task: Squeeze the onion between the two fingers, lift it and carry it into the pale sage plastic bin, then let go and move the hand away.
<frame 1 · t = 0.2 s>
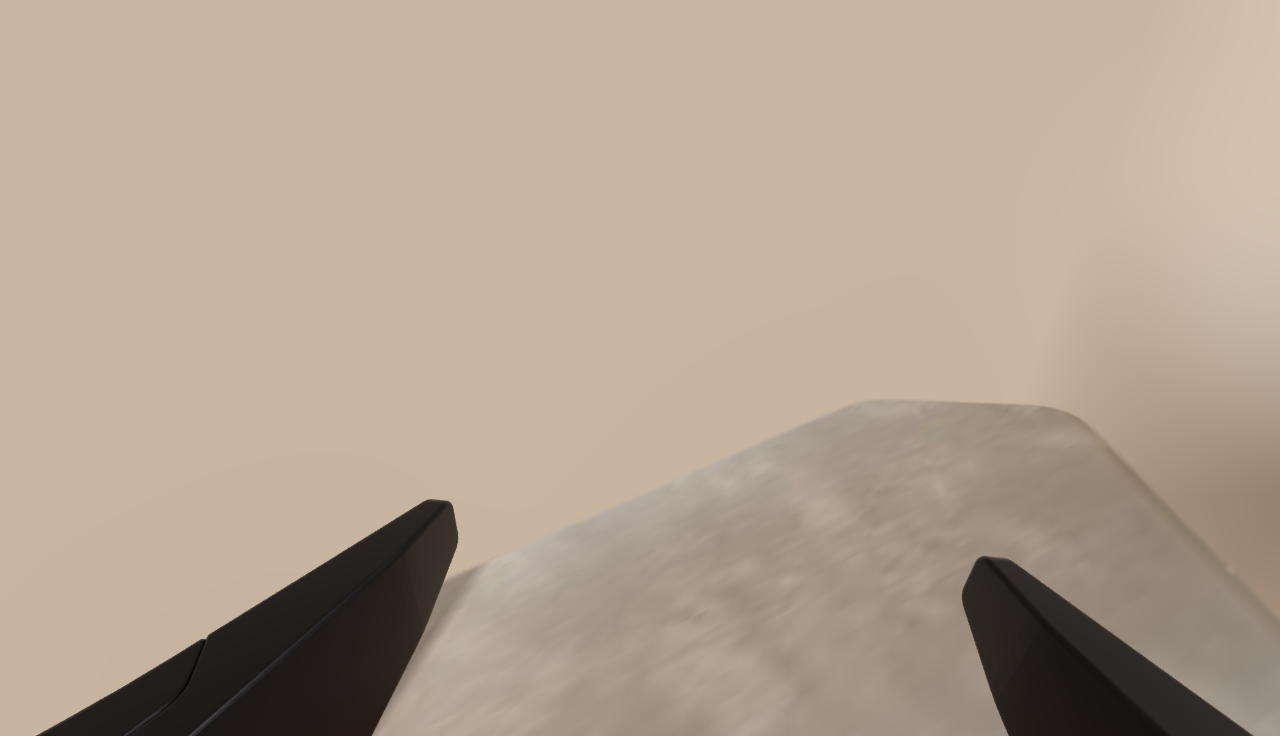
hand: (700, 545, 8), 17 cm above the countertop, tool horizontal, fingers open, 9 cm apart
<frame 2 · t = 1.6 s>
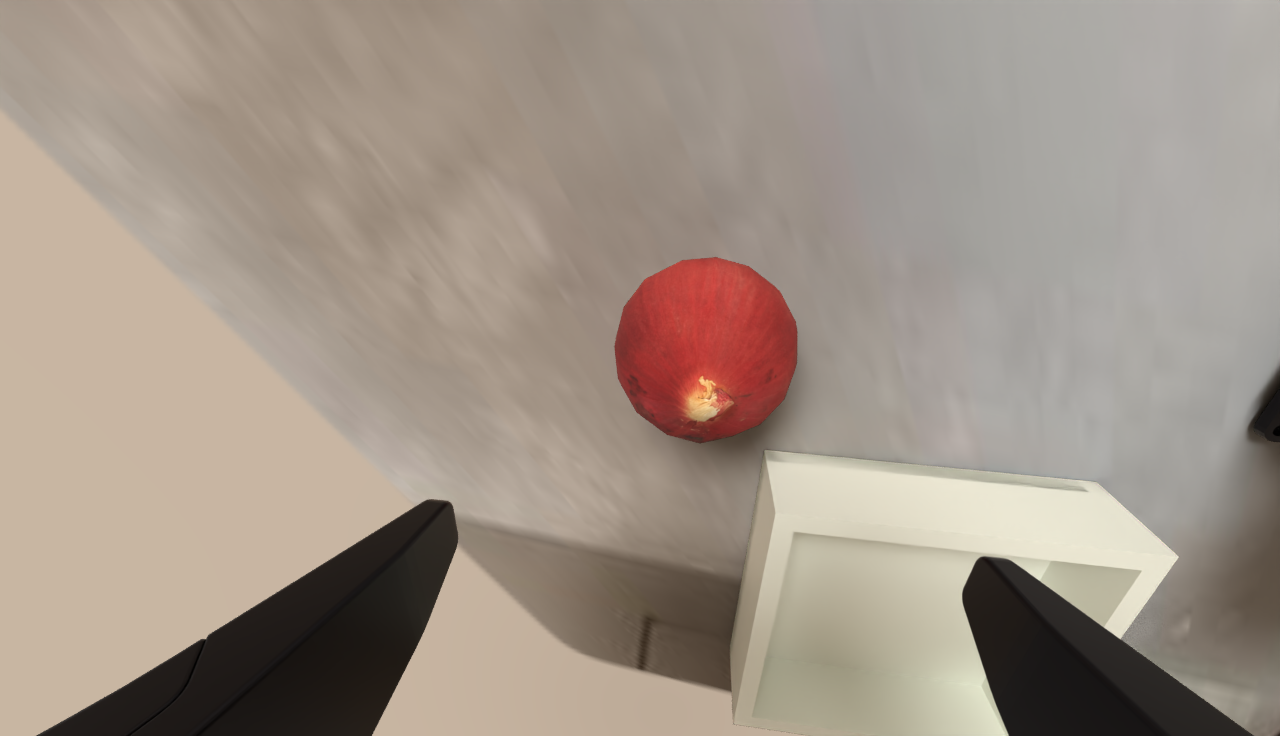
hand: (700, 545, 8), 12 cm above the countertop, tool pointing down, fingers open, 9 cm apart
onion: (704, 310, 19), on the countertop
bin: (885, 577, 24), on the countertop
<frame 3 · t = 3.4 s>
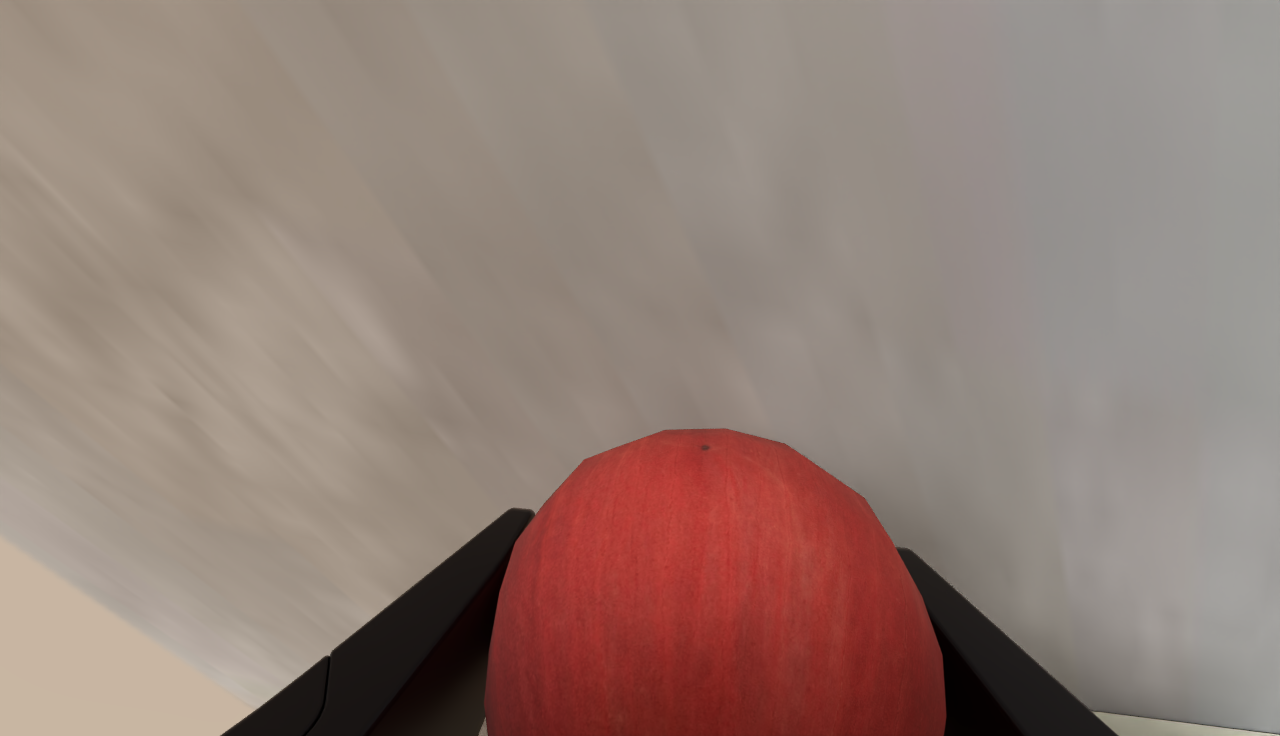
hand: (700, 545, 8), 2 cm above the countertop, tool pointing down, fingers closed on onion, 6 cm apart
onion: (700, 465, 10), on the countertop, touching gripper
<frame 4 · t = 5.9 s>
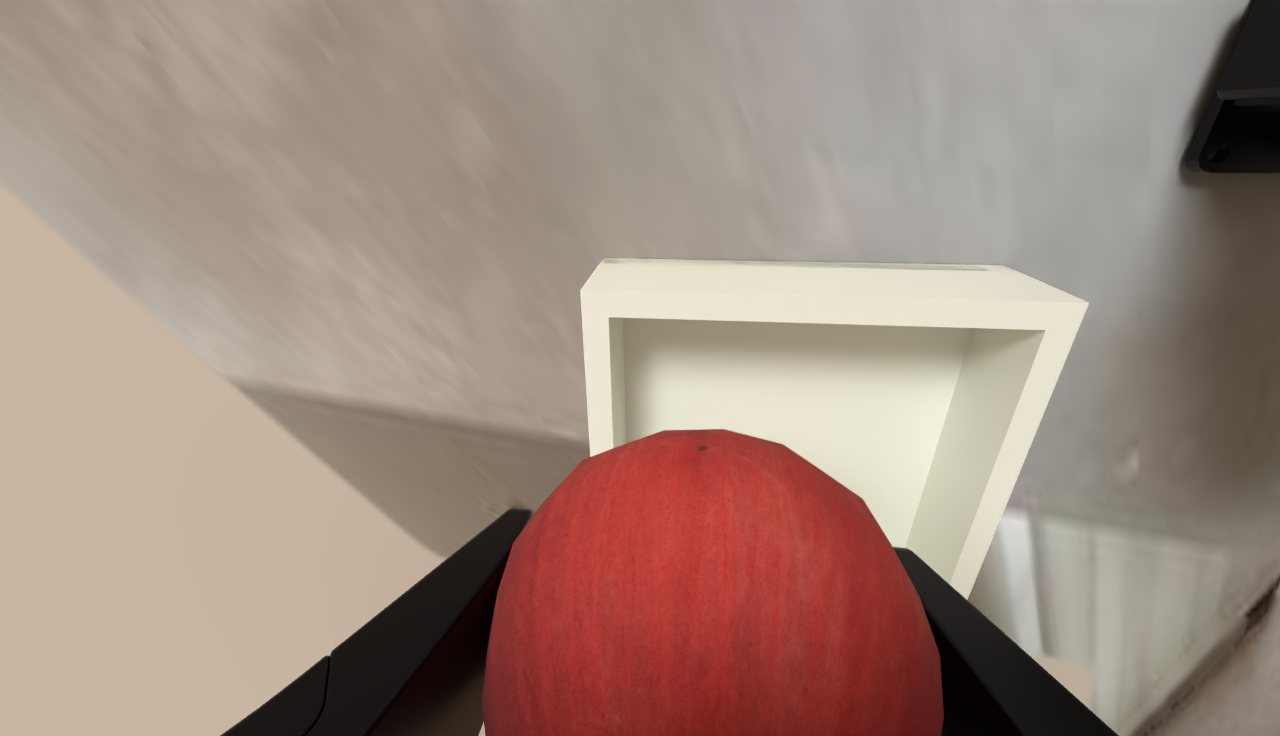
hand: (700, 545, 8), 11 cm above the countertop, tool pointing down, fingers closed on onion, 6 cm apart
onion: (698, 465, 10), point 9 cm above the countertop, touching gripper
bin: (774, 426, 20), on the countertop
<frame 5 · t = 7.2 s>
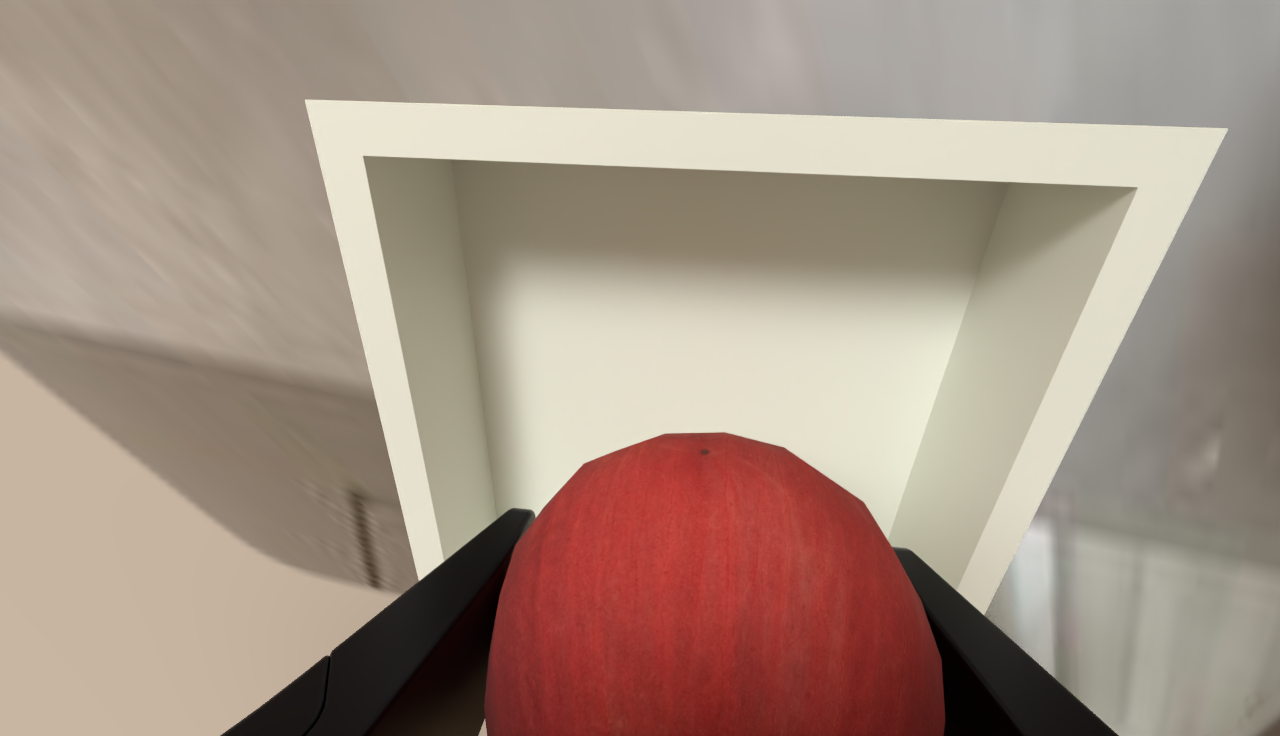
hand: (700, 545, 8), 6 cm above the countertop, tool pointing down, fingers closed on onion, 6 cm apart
onion: (699, 468, 11), point 4 cm above the countertop, touching gripper
bin: (695, 387, 14), on the countertop
when the fingers open (4 cm above the countertop, at t = 8.5 s): onion stays where it is, resting on bin.
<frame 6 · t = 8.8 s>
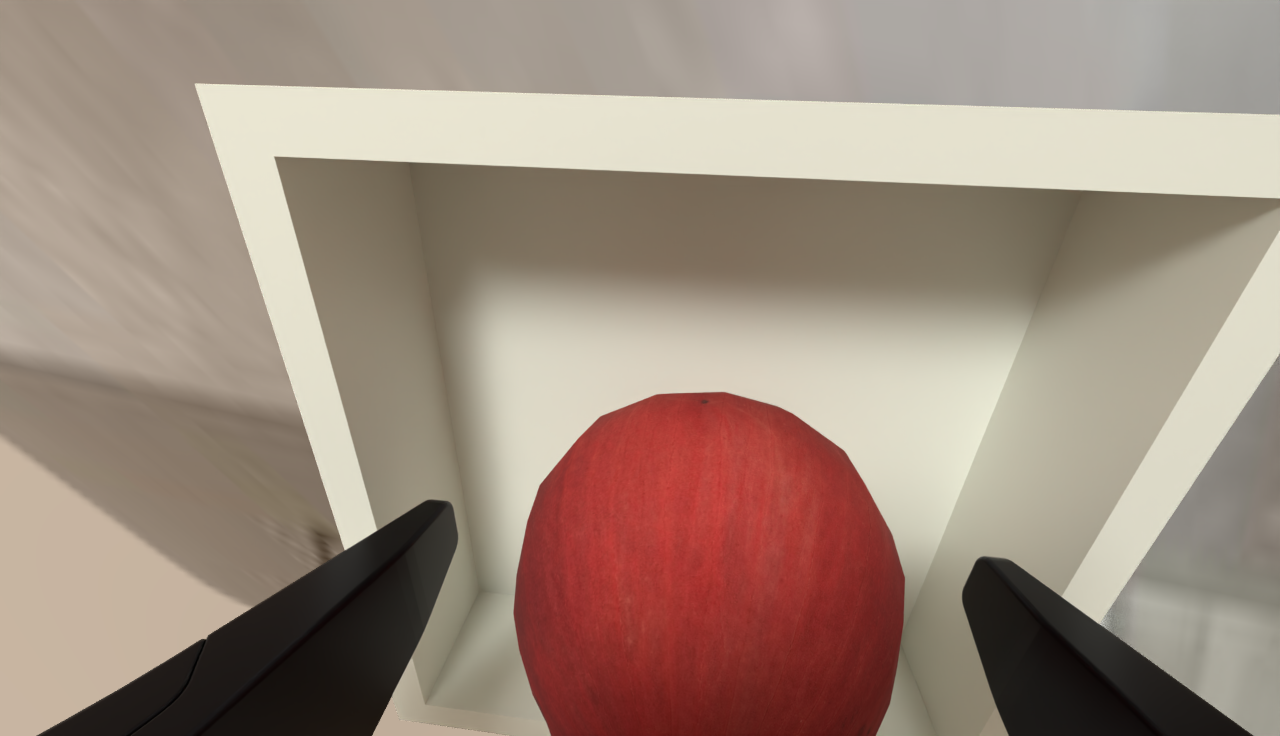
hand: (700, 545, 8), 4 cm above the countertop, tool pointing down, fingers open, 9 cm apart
onion: (704, 436, 11), point 1 cm above the countertop, touching bin
bin: (699, 422, 12), on the countertop
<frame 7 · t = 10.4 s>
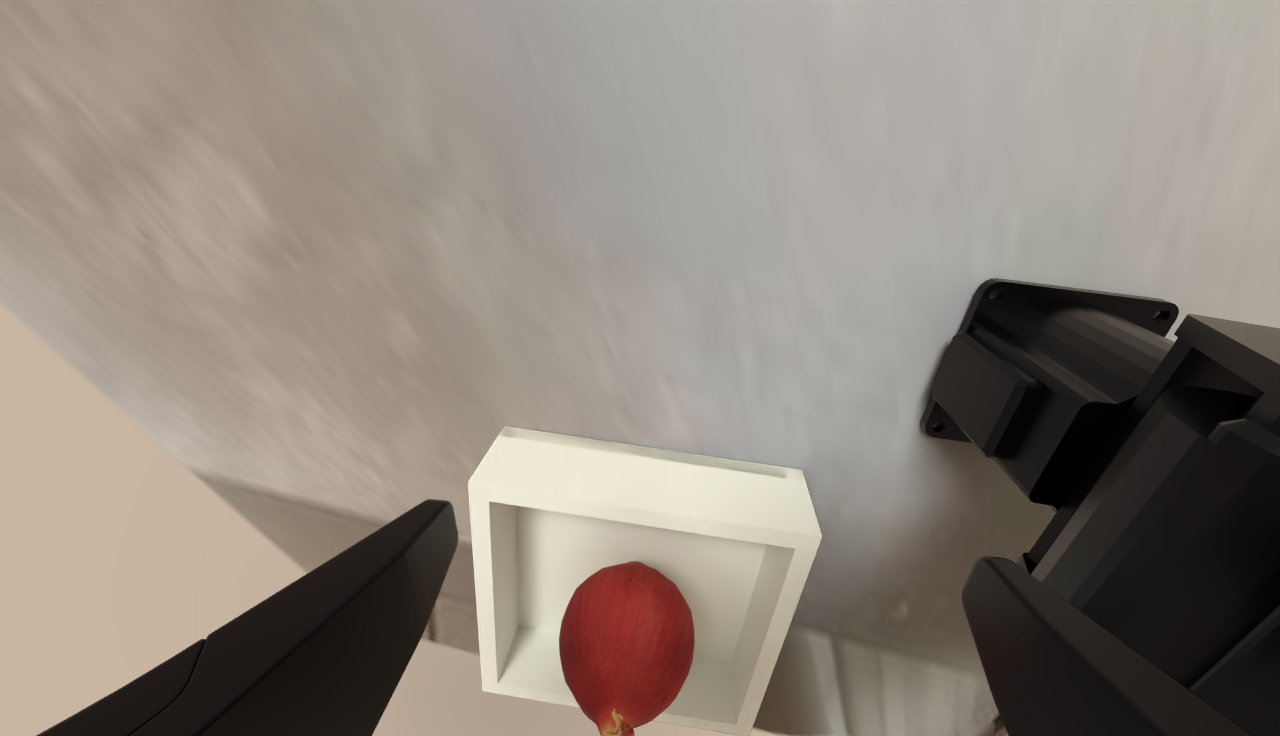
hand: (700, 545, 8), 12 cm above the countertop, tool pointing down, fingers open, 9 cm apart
onion: (636, 564, 25), point 1 cm above the countertop, touching bin
bin: (636, 555, 25), on the countertop
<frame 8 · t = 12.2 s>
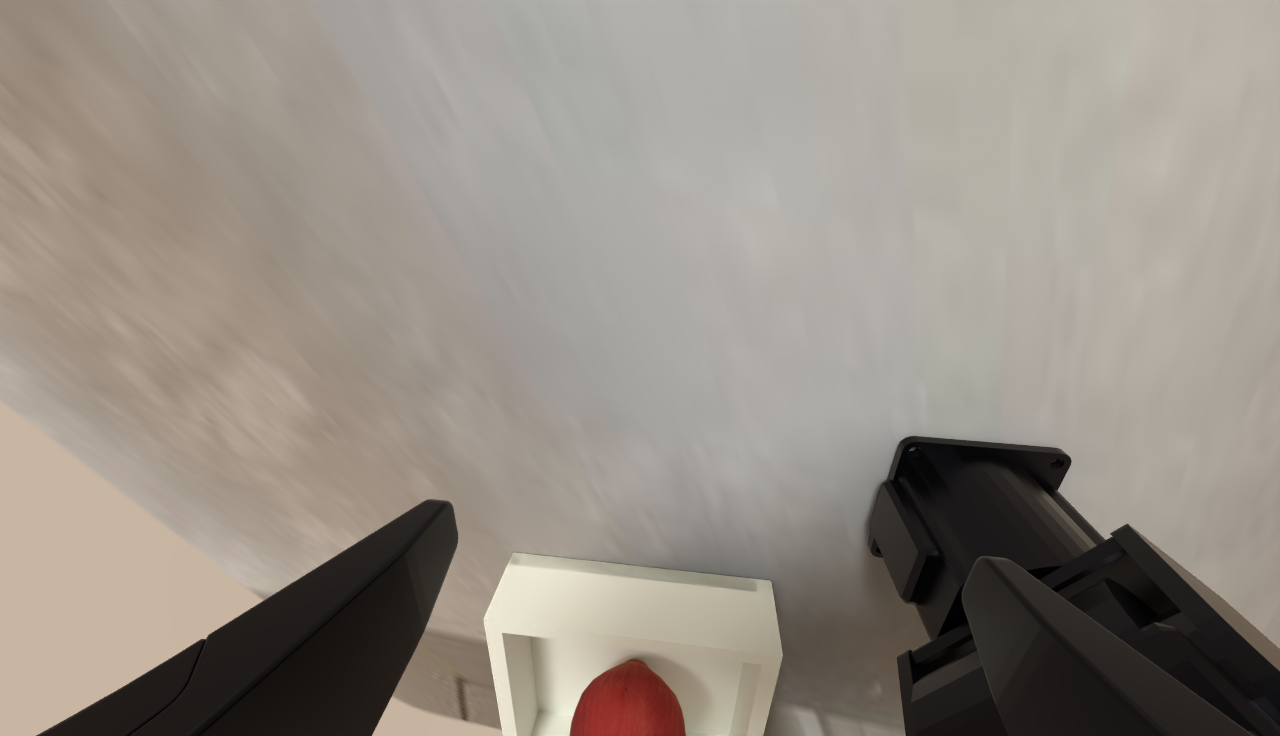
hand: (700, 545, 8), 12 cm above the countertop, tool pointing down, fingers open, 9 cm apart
onion: (636, 659, 28), point 1 cm above the countertop, touching bin
bin: (635, 649, 29), on the countertop
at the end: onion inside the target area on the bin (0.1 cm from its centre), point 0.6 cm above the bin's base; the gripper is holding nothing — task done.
